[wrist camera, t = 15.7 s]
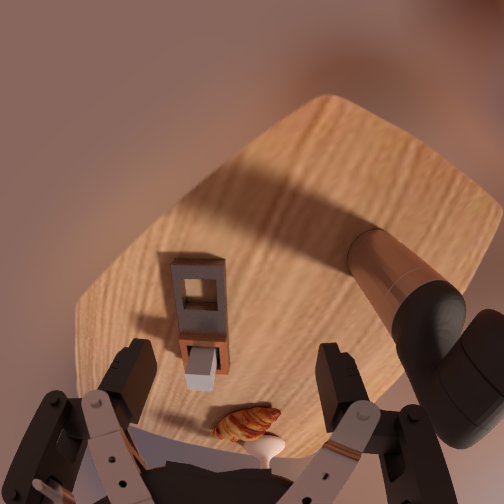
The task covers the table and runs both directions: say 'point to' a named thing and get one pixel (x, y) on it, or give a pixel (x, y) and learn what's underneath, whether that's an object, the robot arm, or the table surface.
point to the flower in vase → (264, 448)
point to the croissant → (246, 424)
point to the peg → (201, 368)
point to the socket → (202, 310)
